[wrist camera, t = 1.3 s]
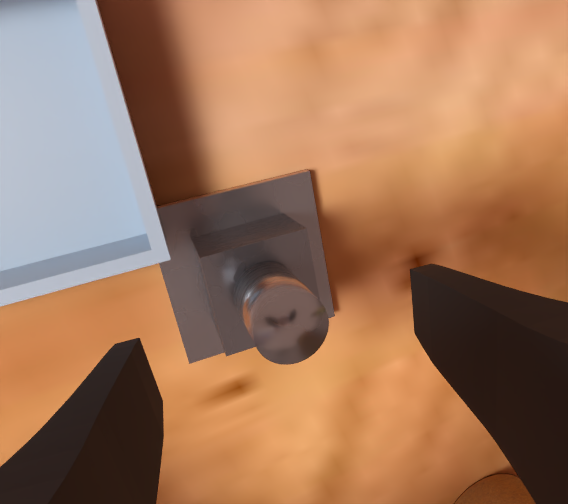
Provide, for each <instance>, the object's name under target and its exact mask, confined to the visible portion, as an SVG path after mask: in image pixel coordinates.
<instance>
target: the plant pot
mask: <svg viewBox="0 0 568 504" xmlns="http://www.w3.org/2000/svg"><path fill="white" fill-rule="evenodd" d="M454 504H536V503H535V502H534V500H533V498H532V497H531V495H530V494H529V492H528V490H527V489H526V487H525V486H524V484H523V482H522V481H521V479H520V478H519V477H517V476H514V475H510V474H497V475H493V476H489V477H487V478H484V479H482V480H480V481H478V482H477V483H475V484H474V485H472V486H471V487H469V488H468V489H467V490H466V491H465V492H464V493H463V494H462V495H461V496H460V497H459V498H458V500H457V501H456V502H455V503H454Z"/></svg>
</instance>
